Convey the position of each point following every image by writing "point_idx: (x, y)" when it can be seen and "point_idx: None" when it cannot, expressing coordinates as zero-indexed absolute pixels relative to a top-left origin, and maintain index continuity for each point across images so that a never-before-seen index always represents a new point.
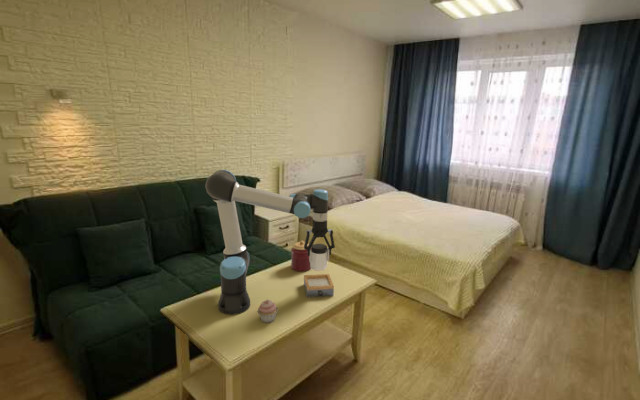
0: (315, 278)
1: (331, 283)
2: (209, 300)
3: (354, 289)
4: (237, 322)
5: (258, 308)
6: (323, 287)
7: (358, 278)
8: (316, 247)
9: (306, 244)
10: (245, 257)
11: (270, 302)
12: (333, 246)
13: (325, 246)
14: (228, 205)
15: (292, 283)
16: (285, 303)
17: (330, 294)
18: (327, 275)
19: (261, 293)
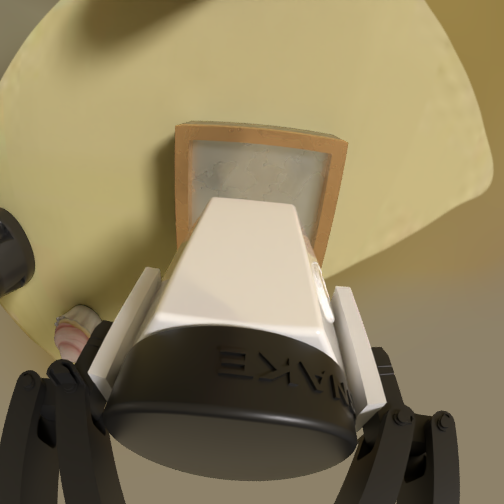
0: (250, 148)
1: (317, 257)
2: None
3: (414, 227)
4: (39, 306)
5: (55, 324)
6: None
7: (471, 145)
8: (181, 462)
9: (49, 455)
10: None
11: (73, 361)
12: (410, 455)
13: (321, 466)
14: None
15: (137, 105)
16: (114, 264)
17: None
18: (332, 158)
19: (38, 186)
